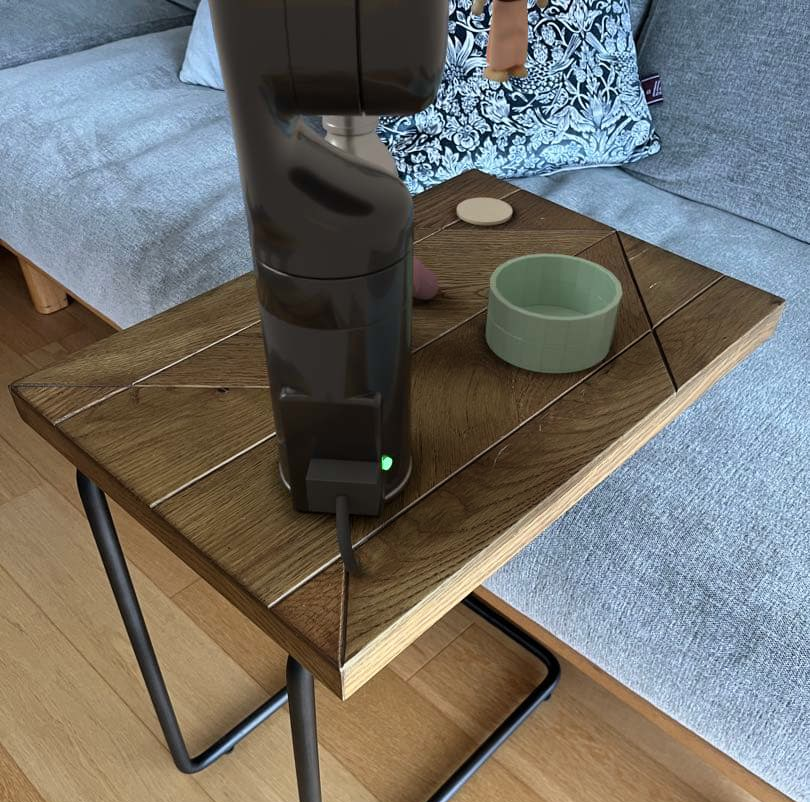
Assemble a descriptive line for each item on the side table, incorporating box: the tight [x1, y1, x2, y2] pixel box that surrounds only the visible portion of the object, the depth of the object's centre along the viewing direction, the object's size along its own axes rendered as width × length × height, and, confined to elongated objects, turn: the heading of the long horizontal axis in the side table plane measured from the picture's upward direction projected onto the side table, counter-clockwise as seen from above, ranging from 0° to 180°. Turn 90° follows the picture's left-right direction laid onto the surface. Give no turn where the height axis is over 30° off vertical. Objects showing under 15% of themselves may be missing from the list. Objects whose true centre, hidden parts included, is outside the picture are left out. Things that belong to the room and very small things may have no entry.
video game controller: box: [413, 256, 439, 301], centre depth 73 cm, size 10×5×7 cm, turn 62°
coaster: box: [456, 197, 514, 226], centre depth 87 cm, size 6×6×1 cm
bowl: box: [485, 253, 624, 374], centre depth 69 cm, size 11×11×5 cm
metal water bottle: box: [321, 113, 400, 178], centre depth 62 cm, size 6×7×20 cm
